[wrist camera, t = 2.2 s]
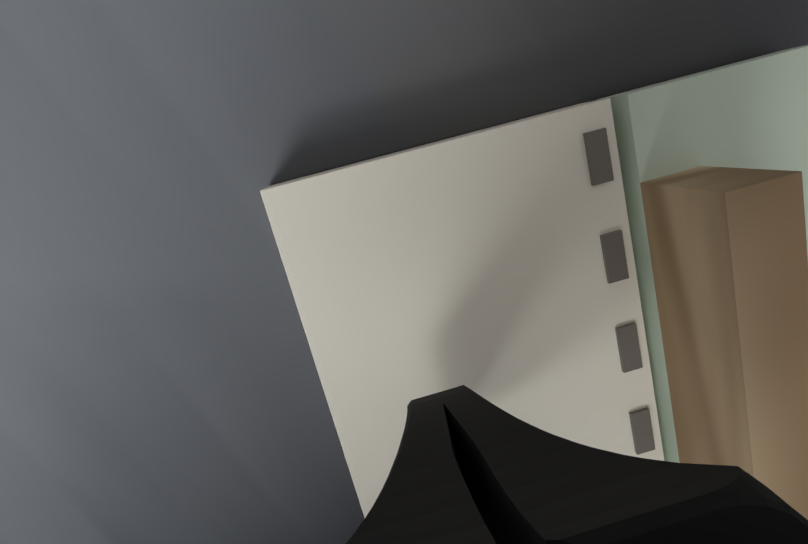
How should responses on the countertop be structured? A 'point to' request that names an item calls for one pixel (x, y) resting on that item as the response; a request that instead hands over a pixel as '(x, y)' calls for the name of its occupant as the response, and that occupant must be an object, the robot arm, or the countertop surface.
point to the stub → (725, 261)
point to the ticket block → (474, 286)
